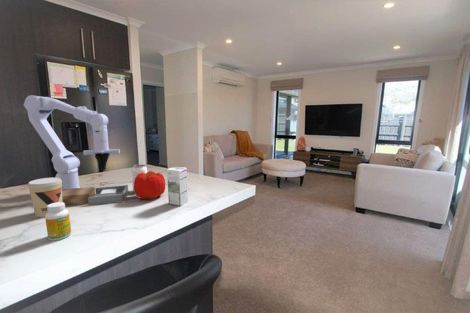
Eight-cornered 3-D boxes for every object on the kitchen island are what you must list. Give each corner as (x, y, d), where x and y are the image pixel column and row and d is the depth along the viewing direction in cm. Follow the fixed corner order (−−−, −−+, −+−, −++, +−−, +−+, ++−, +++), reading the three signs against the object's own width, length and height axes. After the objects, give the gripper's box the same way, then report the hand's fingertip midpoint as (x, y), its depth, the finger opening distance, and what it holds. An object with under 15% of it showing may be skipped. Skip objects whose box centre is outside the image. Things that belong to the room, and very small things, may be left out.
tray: (88, 205, 91) (88, 197, 91) (96, 194, 104) (95, 187, 104) (125, 201, 95) (124, 194, 95) (128, 191, 108) (127, 184, 108)
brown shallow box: (50, 207, 89) (49, 197, 88) (60, 198, 98) (59, 189, 97) (90, 203, 93) (89, 193, 92) (95, 195, 102) (94, 186, 102)
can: (143, 193, 105) (141, 167, 103) (130, 192, 107) (128, 166, 105) (150, 189, 112) (149, 164, 110) (138, 188, 113) (137, 164, 111)
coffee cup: (38, 220, 77) (33, 185, 75) (28, 214, 82) (23, 181, 80) (70, 211, 85) (66, 179, 83) (58, 206, 90) (54, 175, 88)
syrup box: (188, 201, 96) (187, 167, 93) (180, 206, 90) (179, 170, 88) (176, 199, 97) (175, 166, 95) (168, 204, 92) (166, 169, 89)
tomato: (162, 201, 95) (160, 177, 93) (128, 202, 94) (127, 177, 92) (169, 191, 108) (168, 169, 107) (140, 191, 108) (138, 169, 106)
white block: (115, 192, 97) (115, 197, 98) (116, 188, 103) (117, 193, 103) (100, 193, 96) (100, 199, 96) (102, 189, 101) (103, 195, 101)
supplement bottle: (59, 241, 64) (55, 208, 63) (43, 240, 65) (38, 207, 64) (75, 232, 70) (72, 201, 68) (60, 231, 70) (56, 200, 69)
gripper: (79, 141, 100) (83, 172, 102) (117, 140, 105) (119, 170, 107) (84, 140, 107) (87, 169, 109) (119, 139, 111) (121, 167, 114)
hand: (103, 169), depth 108 cm, fingers closed
